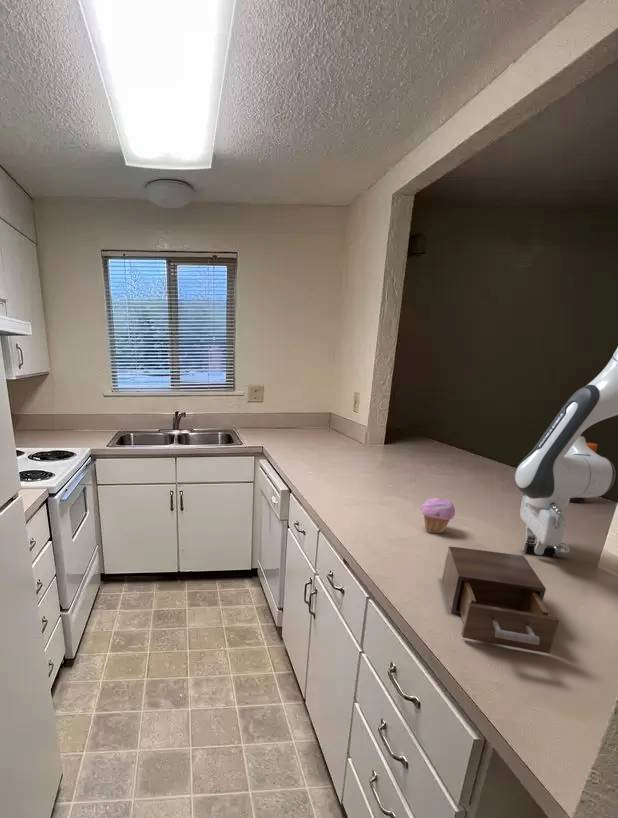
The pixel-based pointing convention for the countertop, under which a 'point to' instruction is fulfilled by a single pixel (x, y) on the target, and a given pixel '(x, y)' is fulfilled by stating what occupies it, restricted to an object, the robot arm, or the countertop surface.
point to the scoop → (549, 550)
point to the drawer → (506, 616)
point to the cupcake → (437, 514)
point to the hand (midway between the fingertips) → (533, 547)
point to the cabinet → (486, 572)
